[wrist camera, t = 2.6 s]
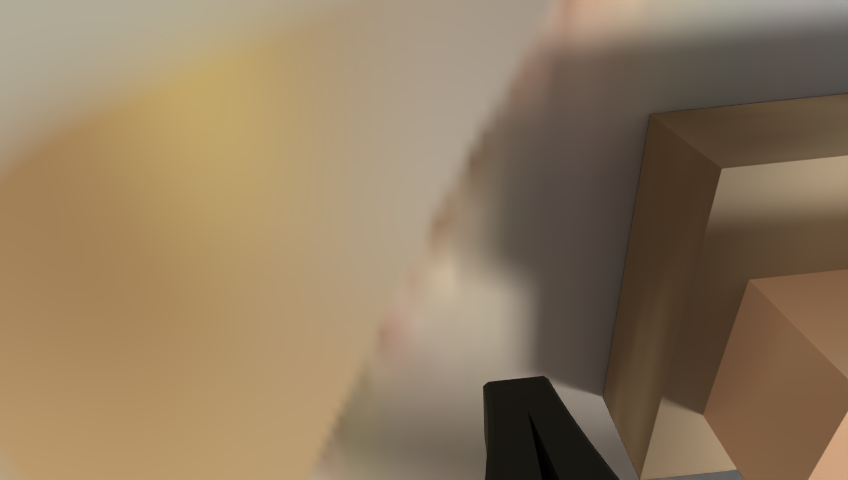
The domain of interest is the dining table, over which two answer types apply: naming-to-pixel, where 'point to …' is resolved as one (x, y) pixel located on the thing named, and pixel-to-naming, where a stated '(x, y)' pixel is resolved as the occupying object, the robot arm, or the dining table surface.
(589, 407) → the dining table surface
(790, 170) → the board
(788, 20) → the dining table surface
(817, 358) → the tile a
